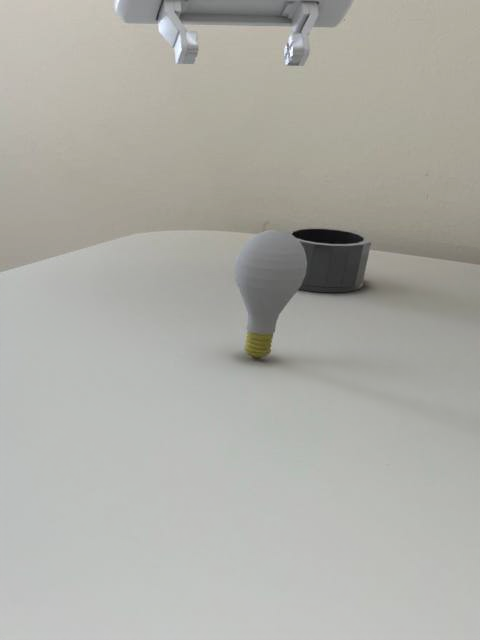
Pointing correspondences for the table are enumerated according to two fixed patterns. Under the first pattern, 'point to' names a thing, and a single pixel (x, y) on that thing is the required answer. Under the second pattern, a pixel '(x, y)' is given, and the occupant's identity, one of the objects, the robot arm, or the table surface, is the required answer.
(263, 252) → the light bulb
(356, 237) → the socket
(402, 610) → the table surface
